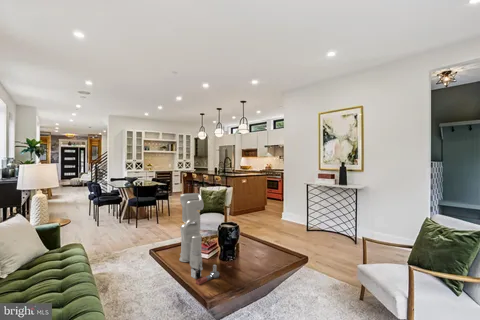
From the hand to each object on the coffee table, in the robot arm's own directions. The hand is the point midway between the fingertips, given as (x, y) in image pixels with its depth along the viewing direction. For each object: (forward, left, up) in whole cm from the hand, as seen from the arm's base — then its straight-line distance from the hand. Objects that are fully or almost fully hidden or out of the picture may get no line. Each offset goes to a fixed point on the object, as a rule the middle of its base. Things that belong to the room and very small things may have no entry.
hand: (196, 275), depth 190 cm
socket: (0, 0, -1) cm, 1 cm away
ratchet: (+10, +4, -1) cm, 11 cm away
